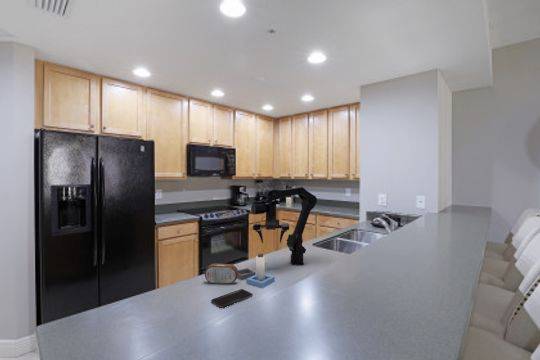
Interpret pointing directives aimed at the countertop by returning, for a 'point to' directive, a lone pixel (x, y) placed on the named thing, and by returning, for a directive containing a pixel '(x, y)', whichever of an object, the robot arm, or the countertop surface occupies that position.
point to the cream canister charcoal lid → (260, 267)
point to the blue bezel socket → (260, 284)
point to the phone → (231, 298)
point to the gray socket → (245, 276)
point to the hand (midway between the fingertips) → (271, 243)
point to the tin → (221, 273)
